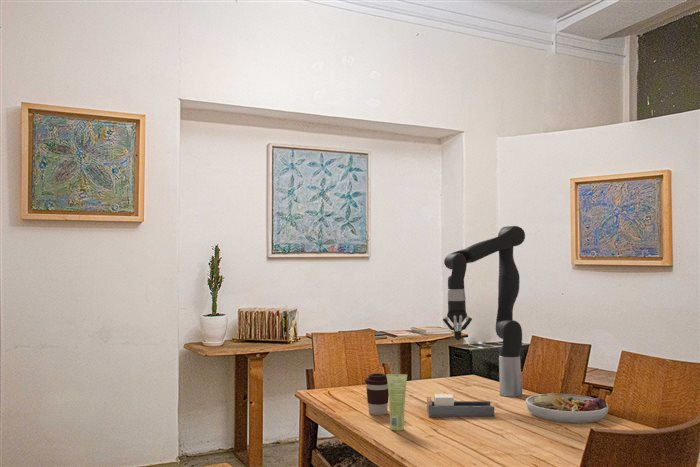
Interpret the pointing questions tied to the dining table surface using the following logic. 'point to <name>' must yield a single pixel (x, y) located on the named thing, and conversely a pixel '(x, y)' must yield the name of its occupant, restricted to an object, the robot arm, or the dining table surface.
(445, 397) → the block
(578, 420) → the bowl
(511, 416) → the dining table surface
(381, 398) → the coffee cup
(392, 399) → the tube
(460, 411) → the chute
